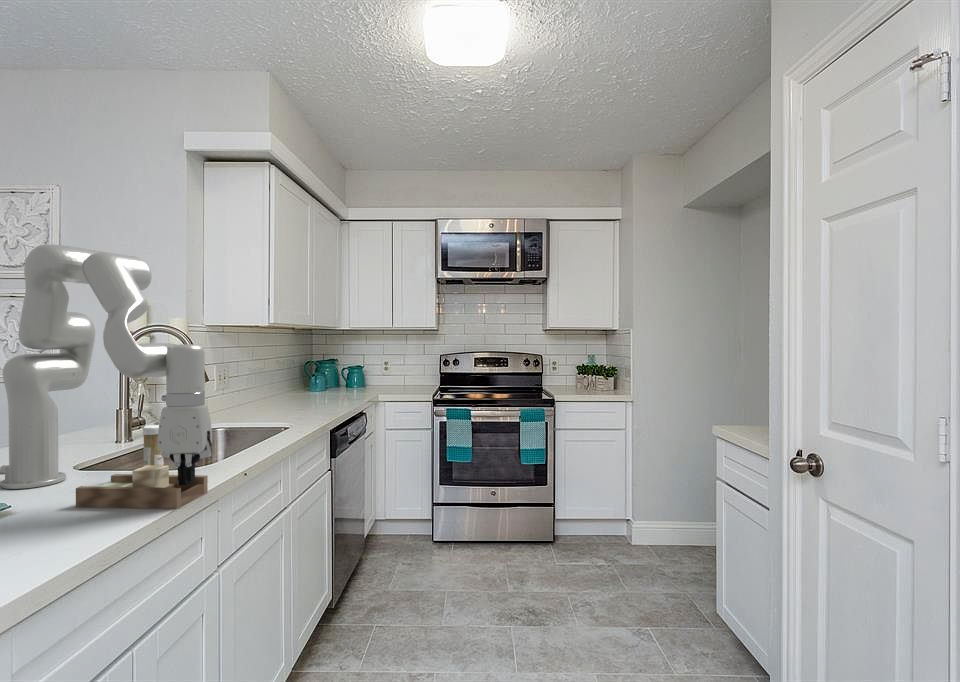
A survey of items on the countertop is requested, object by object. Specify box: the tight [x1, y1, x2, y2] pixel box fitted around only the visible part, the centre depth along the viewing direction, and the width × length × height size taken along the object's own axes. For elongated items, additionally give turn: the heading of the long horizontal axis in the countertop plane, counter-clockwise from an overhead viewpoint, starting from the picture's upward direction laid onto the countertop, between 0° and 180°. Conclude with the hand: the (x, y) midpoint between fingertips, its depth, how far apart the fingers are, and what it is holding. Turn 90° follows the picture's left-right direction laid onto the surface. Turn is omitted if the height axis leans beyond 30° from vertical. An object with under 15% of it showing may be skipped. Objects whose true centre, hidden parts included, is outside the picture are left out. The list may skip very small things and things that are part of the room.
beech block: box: [131, 465, 170, 488], centre depth 124 cm, size 5×5×4 cm
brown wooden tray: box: [75, 473, 209, 510], centre depth 124 cm, size 22×12×4 cm, turn 87°
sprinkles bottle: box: [142, 424, 165, 467], centre depth 141 cm, size 5×5×14 cm
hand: (186, 483), depth 123 cm, fingers closed
